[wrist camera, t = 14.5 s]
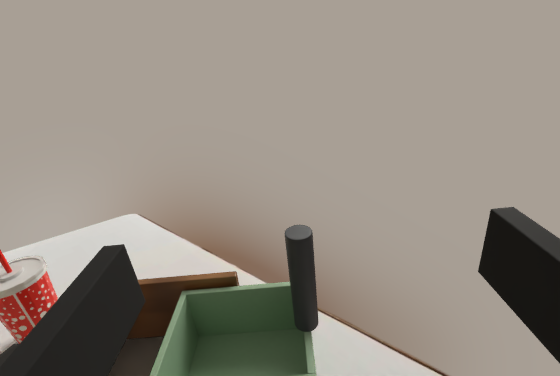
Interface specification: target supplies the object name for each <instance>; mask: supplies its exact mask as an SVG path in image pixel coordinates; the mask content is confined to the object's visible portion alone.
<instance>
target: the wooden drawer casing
mask: <svg viewBox="0 0 560 376" xmlns="http://www.w3.org/2000/svg"><path fill="white" fill-rule="evenodd" d="M138 282H139V285H140V287H141V290H142V293H143V295H144V298H145V300H146V302H145V303H144V305H143V307H142V309H141V311H140V313H139V315H138V317H137V319H136V321H135V323H134V325H133V327H132V329H131V331H130V333H129V335H128V337H127V339H133V338H146V337H158V336H165V334H166V331H167V329H168V326H169V324H170V321H171V319H172V316H173V313H174V311H175V308H176V306H177V303H178V300H179V298H180V296H181V293H182V291H187V290H198V289H210V288H222V287H234V286H239V282H238V277H237V272H236V271H235V272H223V273H212V274H200V275H188V276H177V277H165V278H153V279H142V280H138Z"/></svg>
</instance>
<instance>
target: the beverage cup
mask: <svg viewBox="0 0 560 376" xmlns="http://www.w3.org/2000/svg"><path fill="white" fill-rule="evenodd" d="M0 262H1V264H2V265H0V321H1V322H2V323H3V325H4V326H5V327H6V328H7V330H8V331H9V332H10V333H11V335H12V336H13V337H14V338H15V340H16V341H17V342H18V343H19V344H20V343H21V342H22V341H23V339H24V338H25V337H26V336H27V335H28V334H29V332H30V331H31V330H32V329H33V328H34V327H35V326H36V324H37V323H38V322H39V321H40V320H41V319H42V317H43V316H44V315H45V314H46V313H47V312H48V310H49V309H50V308H51V307H52V306H53V305H54V303H55V302H56V301H57V300H58V298H57V295H56V293H55V290H54V288H53V286H52V283H51V281H50V278H49V276H48V274H47V271H46V270H47V268H48V267H47V265H46V262H45V260H44V259H43V257H40V256H28V257H23V258H19V259H16V260H12V261H10V262H7V260H6V259H5V257H4V255H3V254H2V252H1V250H0Z"/></svg>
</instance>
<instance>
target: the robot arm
mask: <svg viewBox="0 0 560 376" xmlns="http://www.w3.org/2000/svg"><path fill="white" fill-rule="evenodd" d="M478 272H479V273H480V274H481V275H482V276H483V277H484V279H485V280H486V281H487V282H488V283H489V284H490V285H491V287H492V288H493V289H494V290H495V291H496V292H497V293H498V294H499V296H500V297H501V298H502V299H503V300H504V301H505V302H506V303H507V305H508V306H509V307H510V308H511V309H512V310H513V311H514V312H515V313H516V315H517V316H518V317H519V318H520V319H521V320H522V321H523V323H524V324H525V325H526V326H527V327H528V328H529V329H530V330H531V331H532V333H533V334H534V335H535V336H536V337H537V338H538V339H539V340H540V342H541V343H542V344H543V345H544V346H545V347H546V348H547V349H548V350H549V352H550V353H551V354H552V355H553V356H554V357H555V359H556V360H557V361H558V362H559V363H560V239H559V238H558V237H556V236H555V235H553V234H552V233H550V232H549V231H548V230H546V229H545V228H543V227H542V226H540V225H538V224H537V223H536V222H534V221H533V220H532V219H530V218H529V217H527V216H526V215H524V214H523V213H521V212H519V211H518V210H517V209H515V208H514V207H509V208H498V209H491V211H490V217H489V221H488V226H487V231H486V236H485V241H484V246H483V250H482V256H481V260H480V265H479V270H478ZM145 302H146V300H145V298H144V295H143V293H142V290H141V287H140V285H139V282H138V280H137V277H136V274H135V272H134V269H133V267H132V264H131V261H130V259H129V256H128V254H127V251H126V248H125V246H124V244H123V245H112V246H103V248H102V249H101V250H100V251H99V252H98V253H97V255H96V256H95V257H94V258H93V259H92V260H91V261H90V263H89V264H88V265H87V266H86V267H85V268H84V270H83V271H82V272H81V273H80V274H79V275H78V277H77V278H76V279H75V280H74V281H73V282H72V284H71V285H70V286H69V287H68V288H67V289H66V291H65V292H64V293H63V294H62V295H61V296H60V298H59V299H58V300H57V301H56V302H55V303H54V305H53V306H52V307H51V308H50V309H49V310H48V312H47V313H46V314H45V315H44V316H43V317H42V319H41V320H40V321H39V322H38V323H37V324H36V326H35V327H34V328H33V329H32V330H31V331H30V332H29V334H28V335H27V336H26V337H25V338H24V339H23V341H22V342H21V343H20V344H14V345H12V346H11V347H10V348H8V349H7V350H6V351H5V352H3V353H2V354H1V355H0V376H108V374H109V372H110V370H111V368H112V366H113V364H114V362H115V360H116V358H117V356H118V354H119V352H120V350H121V348H122V347H123V345H124V343H125V341H126V339H127V337H128V335H129V333H130V331H131V329H132V327H133V325H134V323H135V321H136V319H137V317H138V315H139V313H140V311H141V309H142V307H143V305H144V303H145Z"/></svg>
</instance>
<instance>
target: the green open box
mask: <svg viewBox="0 0 560 376" xmlns="http://www.w3.org/2000/svg"><path fill="white" fill-rule="evenodd" d="M285 241H286V250H287V259H288V267H289V277H290V282H283V283H282V282H281V283H269V284H258V285H246V286H234V287H222V288H210V289H198V290H187V291H182V293H181V296H180V298H179V300H178V303H177V306H176V308H175V311H174V313H173V316H172V319H171V321H170V324H169V326H168V329H167V331H166V334H165V337H164V339H163V342H162V344H161V347H160V350H159V352H158V355H157V357H156V360H155V363H154V365H153V368H152V370H151V373H150V375H149V376H316V368H315V360H314V352H313V343H312V335H311V331H312V330H314V329H315V328H316V327H317V325H318V310H317V296H316V281H315V266H314V250H313V235H312V230H311V228H310V227H308V226H305V225H294V226H291V227H289V228H288V229H286V231H285Z"/></svg>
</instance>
